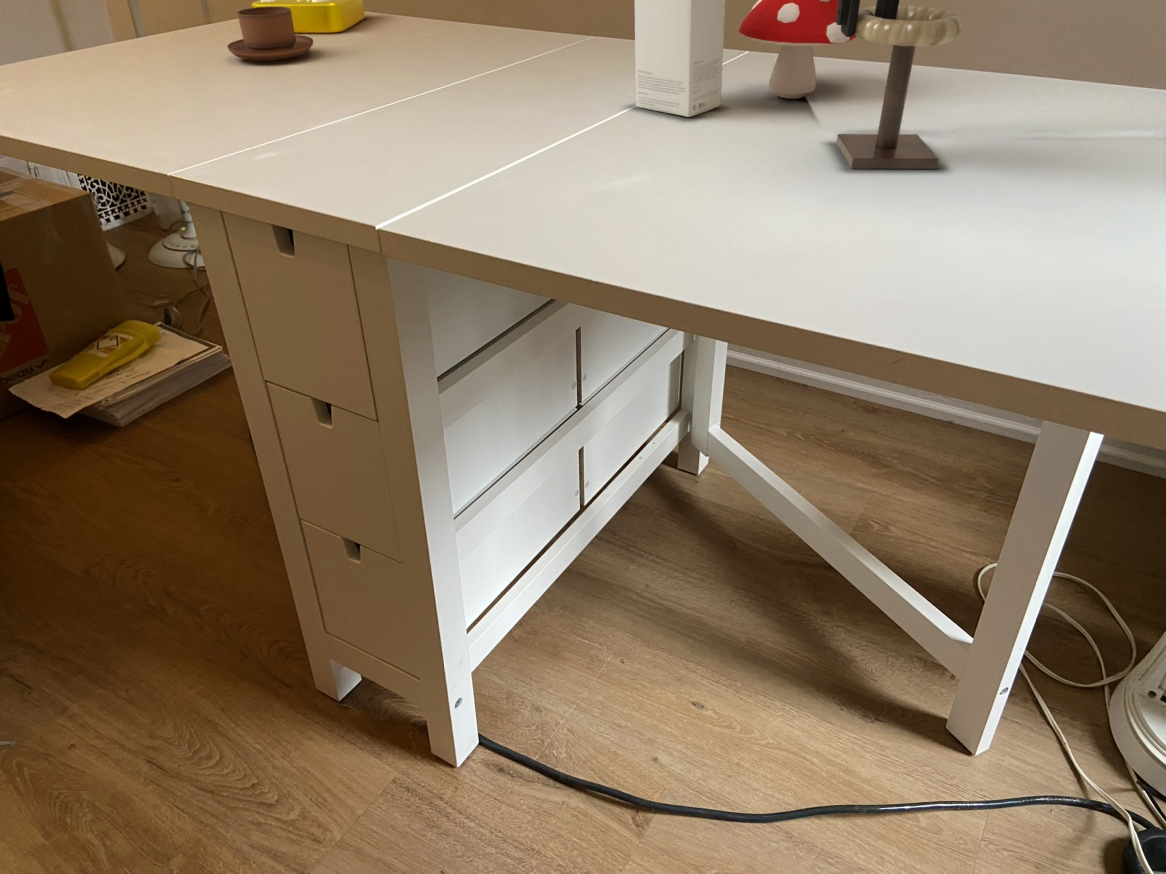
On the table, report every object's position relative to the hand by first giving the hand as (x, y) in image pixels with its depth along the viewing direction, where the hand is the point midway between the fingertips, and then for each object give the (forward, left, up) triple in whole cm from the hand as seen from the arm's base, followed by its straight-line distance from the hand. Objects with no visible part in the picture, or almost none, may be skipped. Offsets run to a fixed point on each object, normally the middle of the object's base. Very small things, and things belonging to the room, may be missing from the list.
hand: (863, 32), depth 80 cm
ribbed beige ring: (-4, 0, +1) cm, 4 cm away
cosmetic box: (+16, -18, -11) cm, 27 cm away
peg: (-4, 0, -11) cm, 12 cm away
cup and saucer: (+74, -46, -11) cm, 88 cm away
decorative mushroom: (+2, -23, -11) cm, 26 cm away
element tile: (+76, -71, -11) cm, 105 cm away
